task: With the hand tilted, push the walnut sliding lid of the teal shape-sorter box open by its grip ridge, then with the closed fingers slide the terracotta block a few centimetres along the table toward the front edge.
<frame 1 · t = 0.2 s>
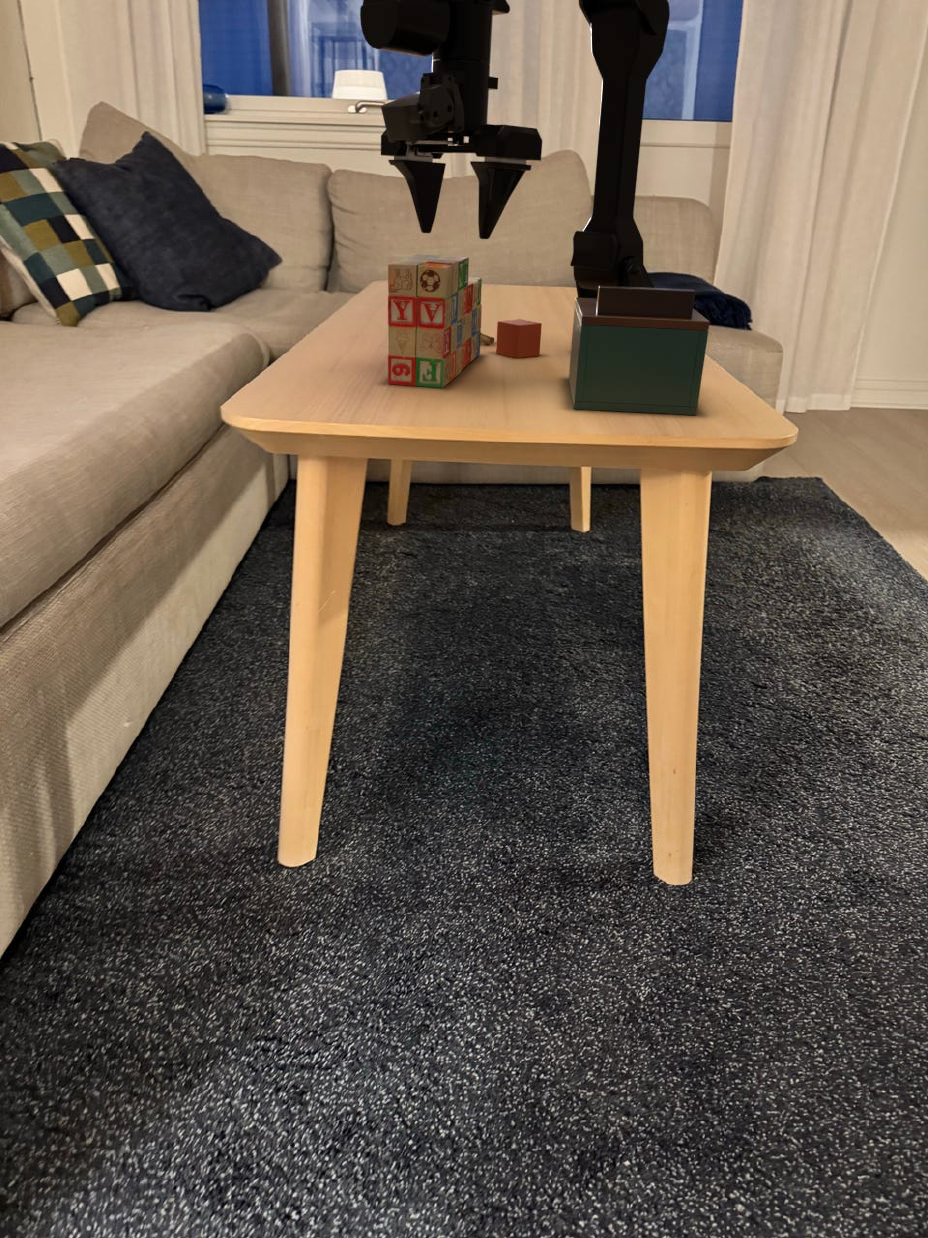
hand: (454, 235, 96), 15 cm above the table, tool pointing down, fingers open, 9 cm apart
figurine: (442, 340, 125), on the table
block: (517, 354, 117), on the table
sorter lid: (638, 299, 92), point 10 cm above the table, slide at 0.0 cm
sorter box: (627, 395, 96), on the table
stack of blocks: (437, 370, 106), on the table
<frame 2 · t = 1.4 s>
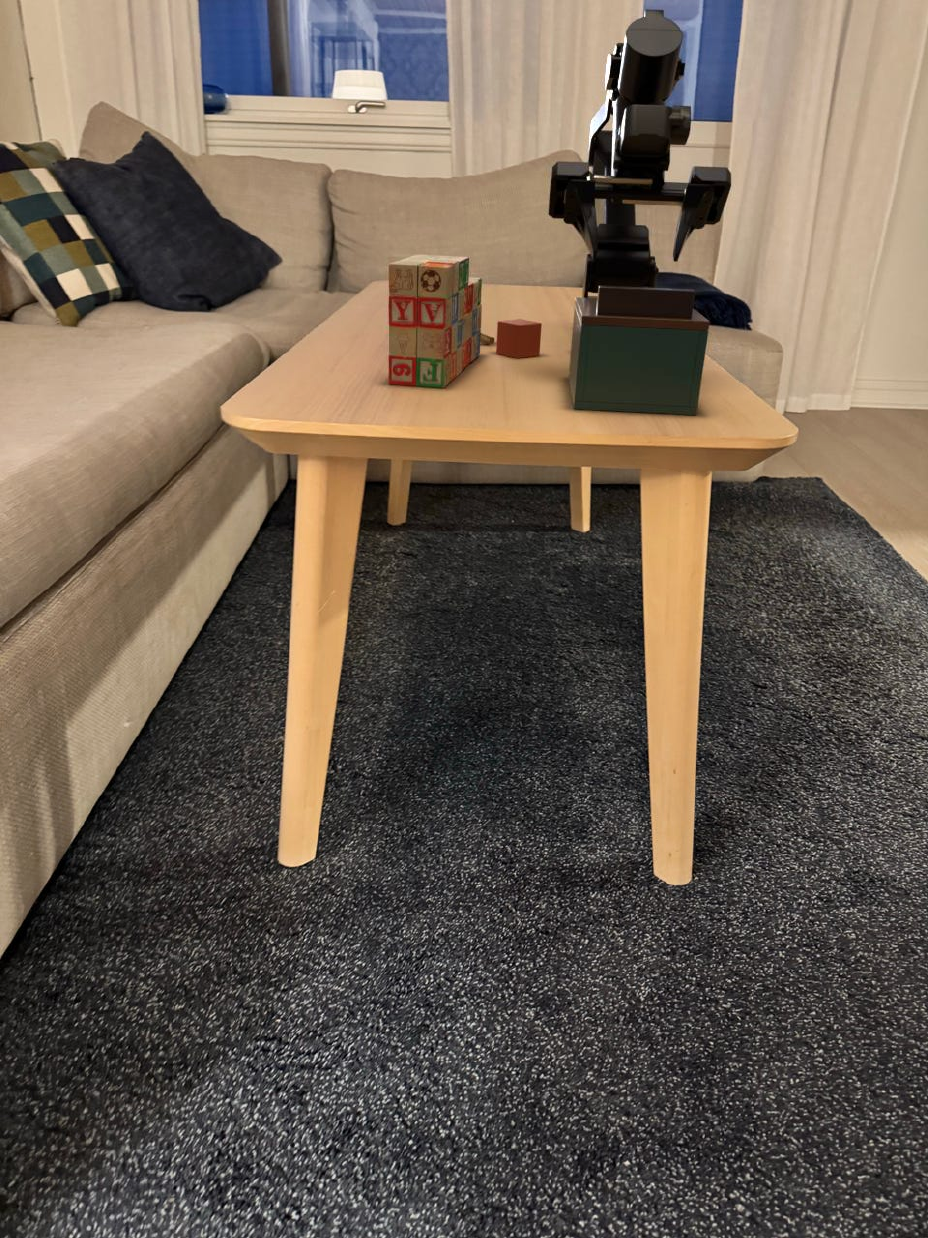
hand: (635, 256, 95), 13 cm above the table, tool tilted 45°, fingers open, 8 cm apart
nothing on the table moved.
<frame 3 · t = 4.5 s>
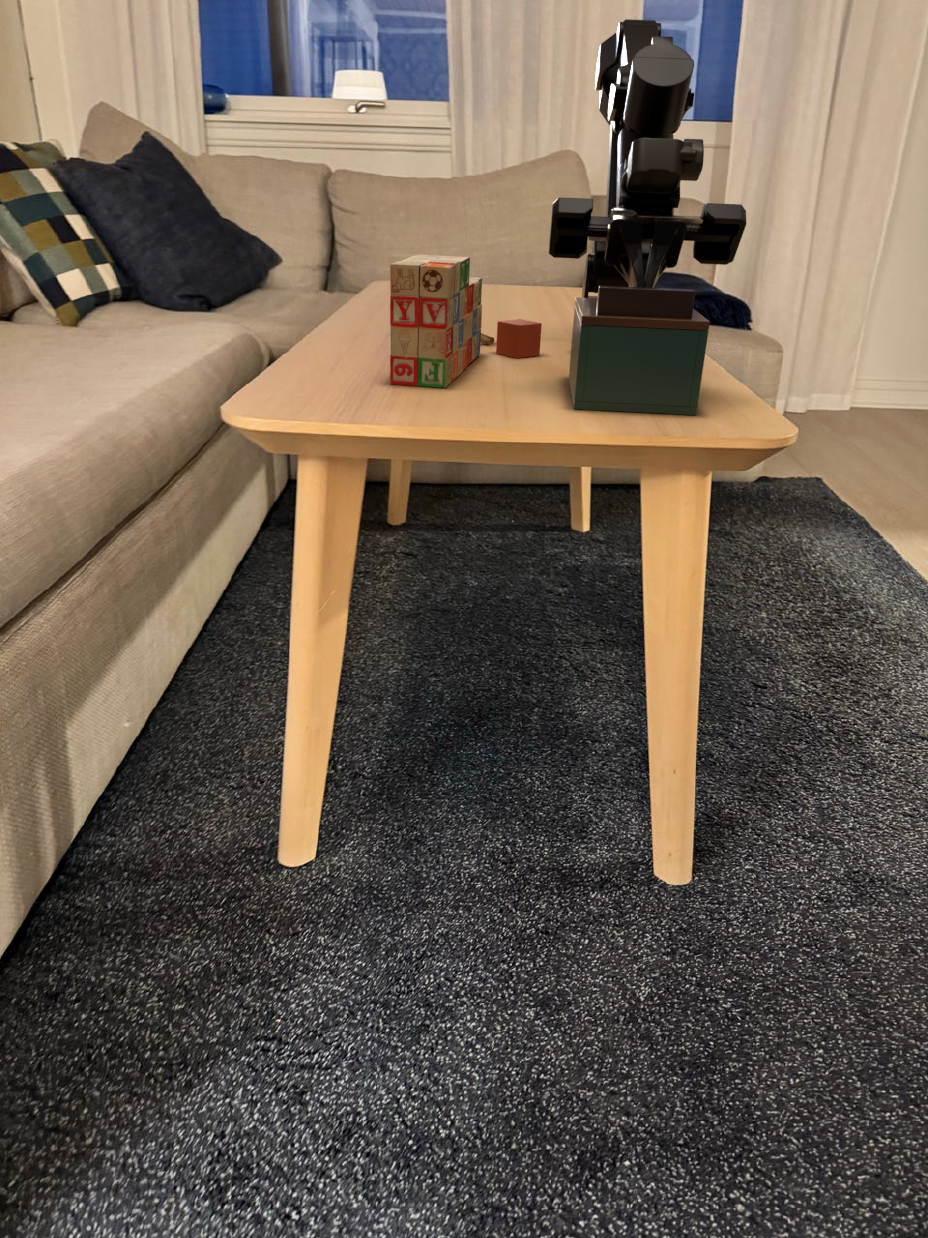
hand: (644, 300, 88), 10 cm above the table, tool tilted 45°, fingers closed, pressing on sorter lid
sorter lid: (638, 299, 92), point 10 cm above the table, slide at 0.1 cm, touching gripper
everything else where it was.
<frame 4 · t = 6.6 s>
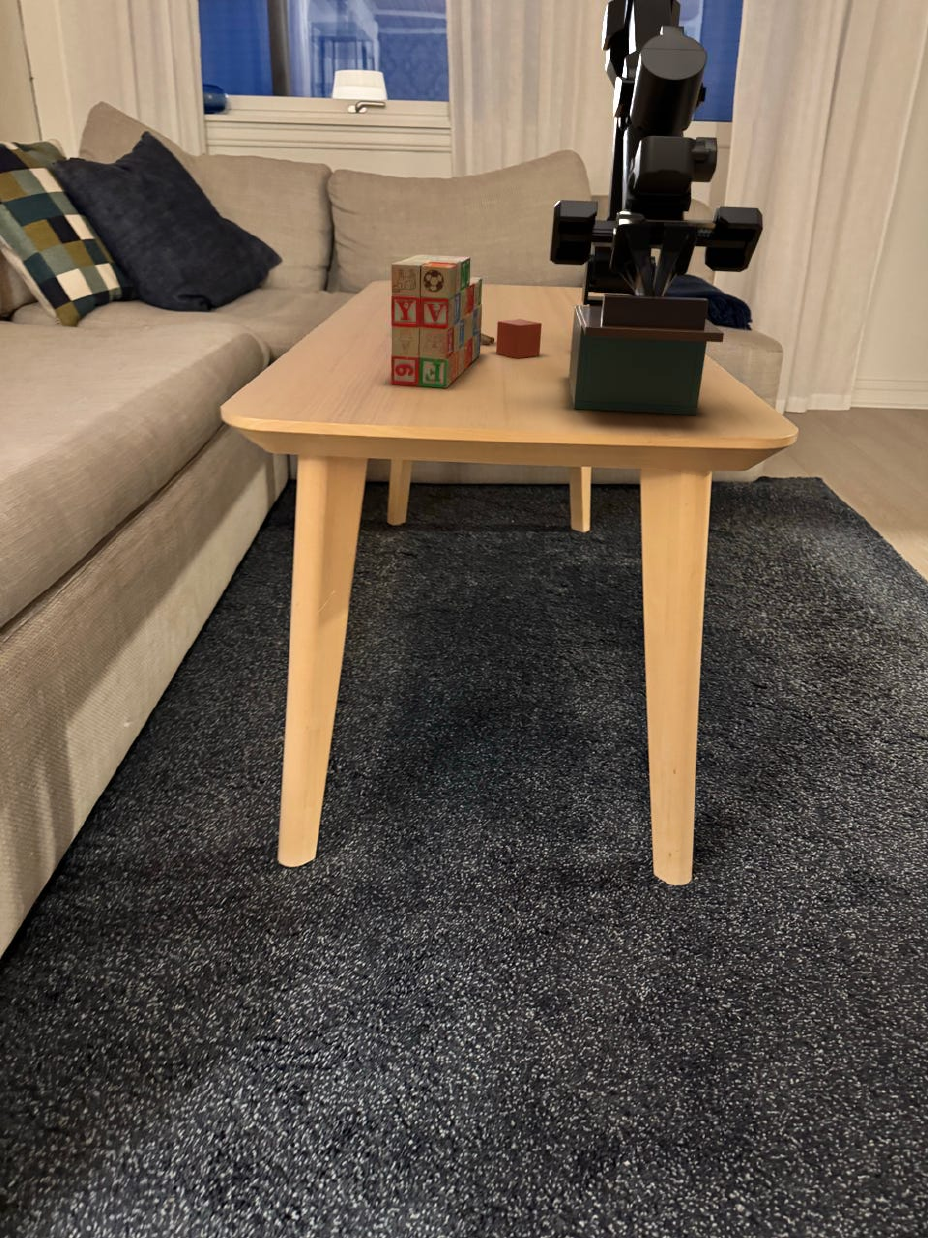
hand: (652, 311, 81), 10 cm above the table, tool tilted 45°, fingers closed, pressing on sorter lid
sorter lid: (646, 308, 85), point 10 cm above the table, slide at 7.1 cm, touching gripper
everything else where it was.
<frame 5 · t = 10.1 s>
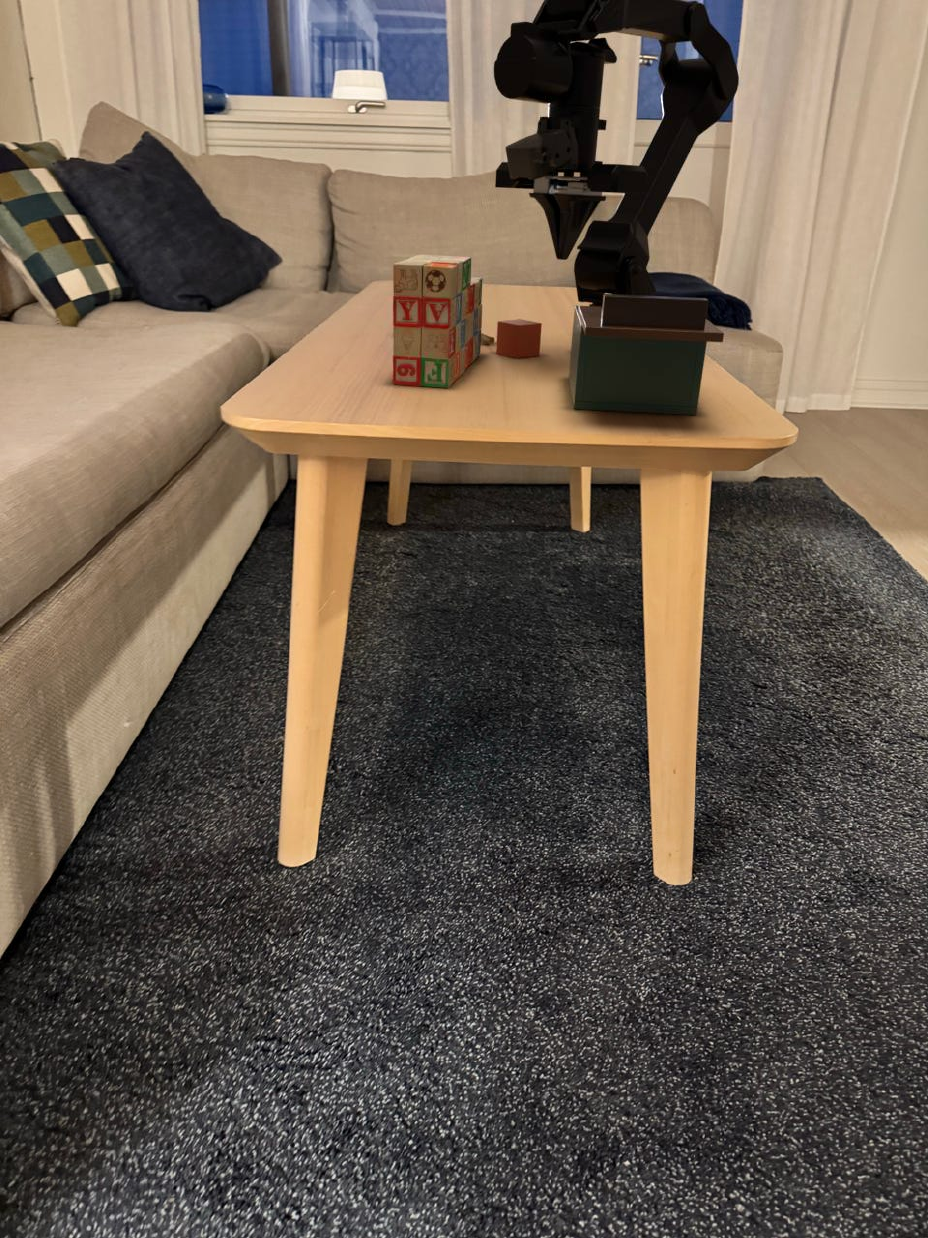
hand: (561, 259, 107), 12 cm above the table, tool pointing down, fingers closed
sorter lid: (646, 308, 85), point 10 cm above the table, slide at 7.1 cm
everything else where it was.
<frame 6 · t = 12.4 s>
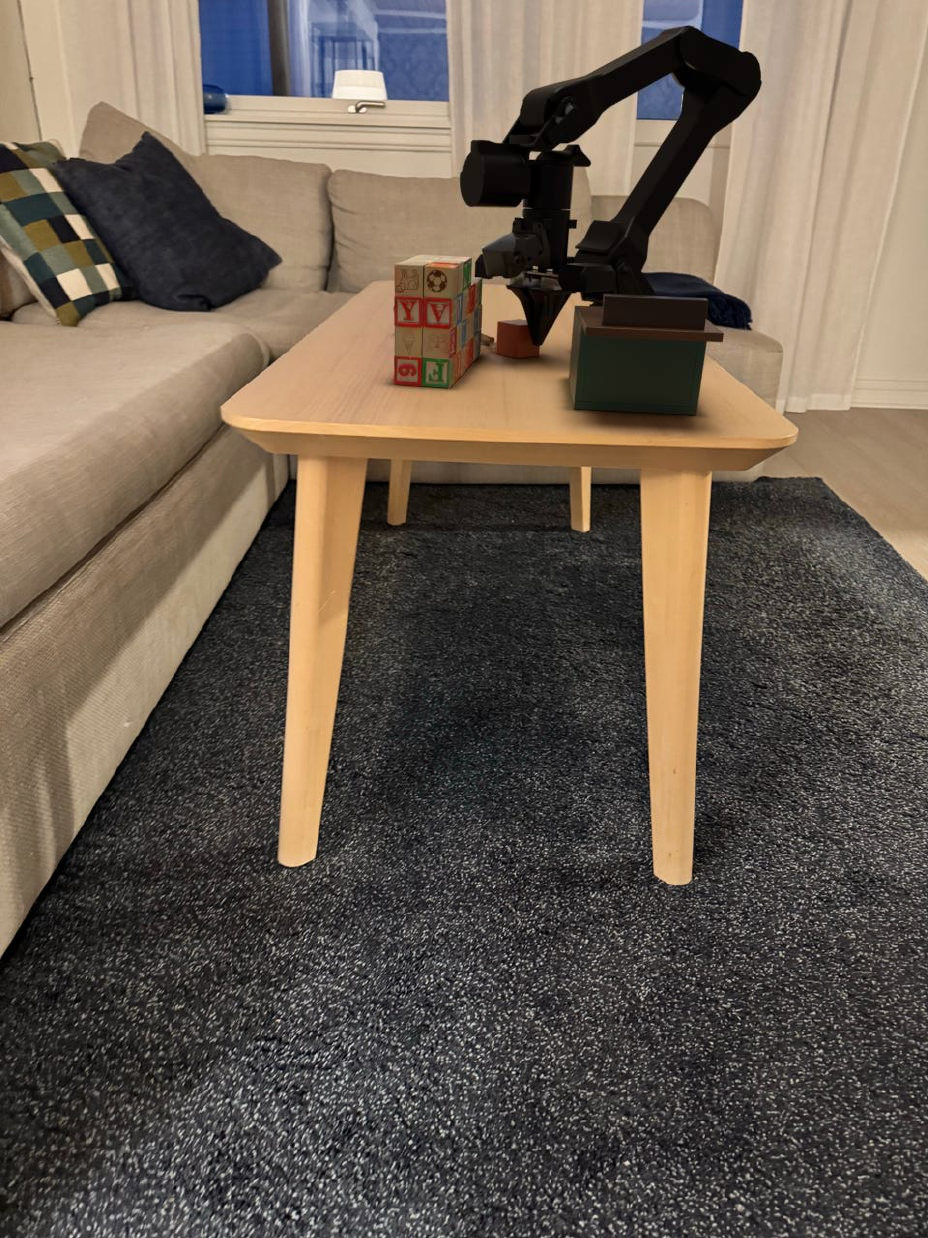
hand: (537, 345, 114), 2 cm above the table, tool pointing down, fingers closed
block: (517, 354, 117), on the table, touching gripper
everything else where it was.
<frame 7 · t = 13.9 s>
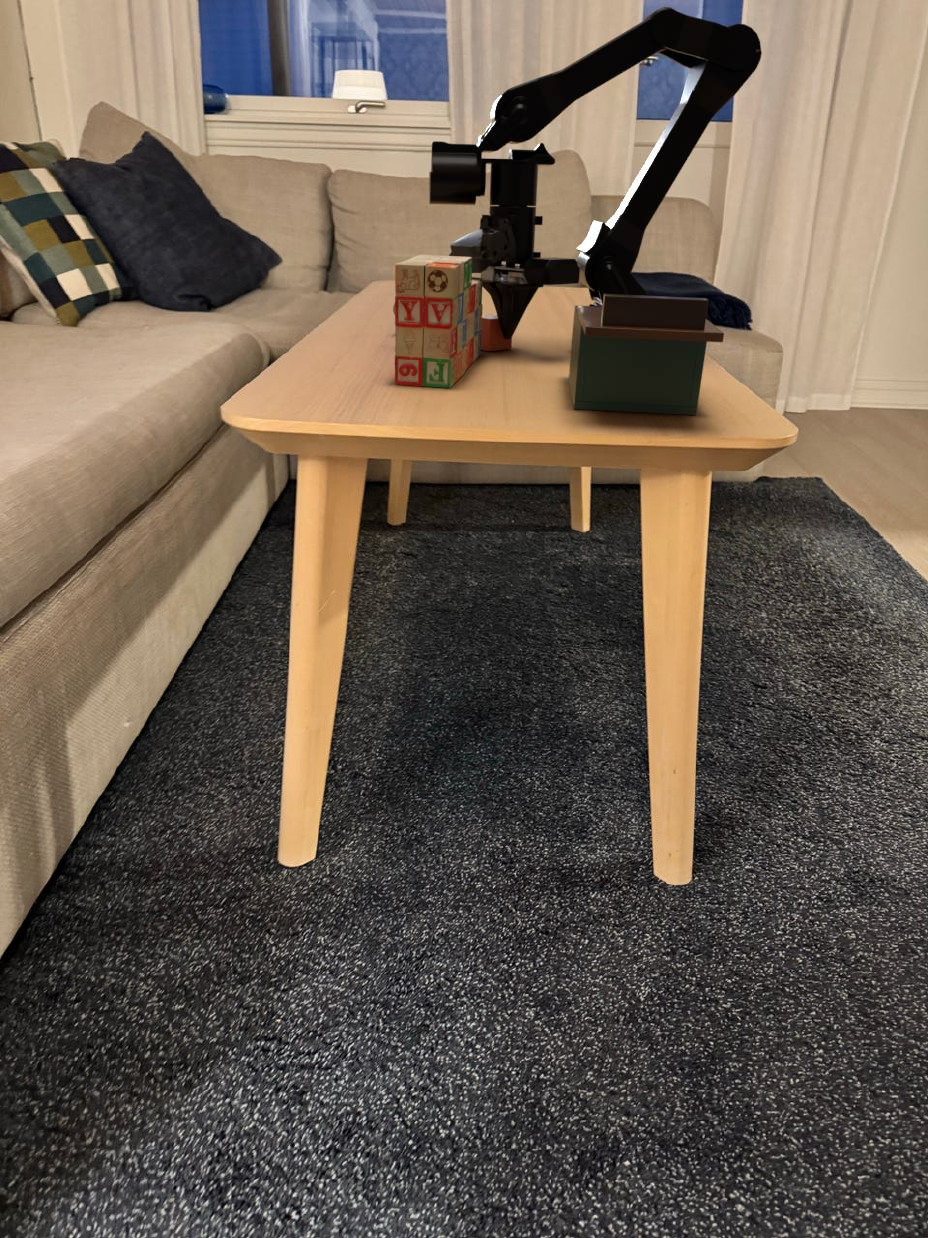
hand: (507, 338, 117), 2 cm above the table, tool pointing down, fingers closed
figurine: (441, 340, 125), on the table, touching block
block: (490, 348, 120), on the table, touching figurine, gripper
everything else where it was.
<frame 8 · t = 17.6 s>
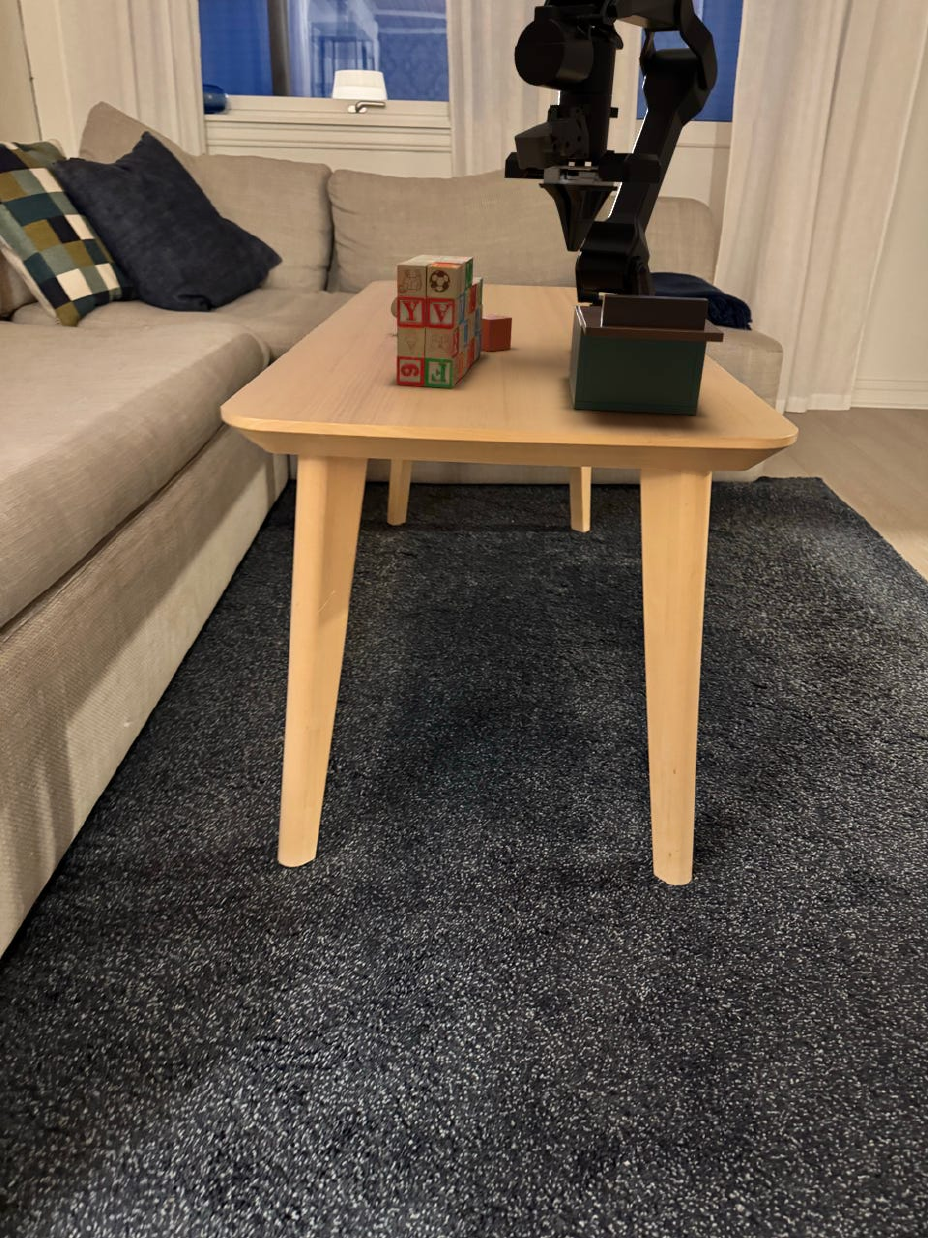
hand: (572, 251, 104), 13 cm above the table, tool pointing down, fingers closed
figurine: (439, 340, 126), on the table
block: (489, 348, 120), on the table
everything else where it was.
at the end: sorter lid slide at 7.1 cm; block 0.8 cm from the target spot, on the table; block tilted 0° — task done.
